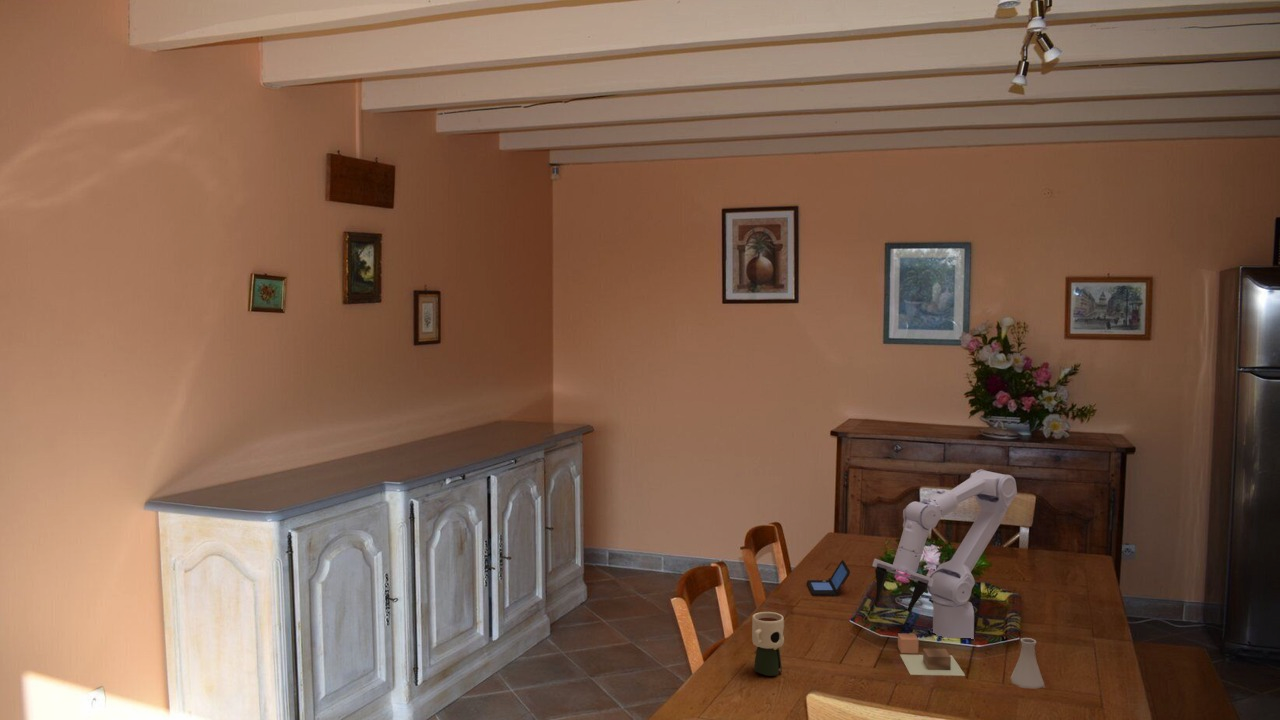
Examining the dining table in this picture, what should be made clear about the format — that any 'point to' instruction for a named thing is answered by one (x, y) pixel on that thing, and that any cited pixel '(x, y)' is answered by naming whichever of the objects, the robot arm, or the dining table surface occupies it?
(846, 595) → the dining table surface
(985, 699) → the dining table surface
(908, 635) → the terracotta cube
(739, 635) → the dining table surface
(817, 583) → the handheld game console
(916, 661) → the plate
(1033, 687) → the flask
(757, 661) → the character mug
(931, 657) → the walnut base brick
